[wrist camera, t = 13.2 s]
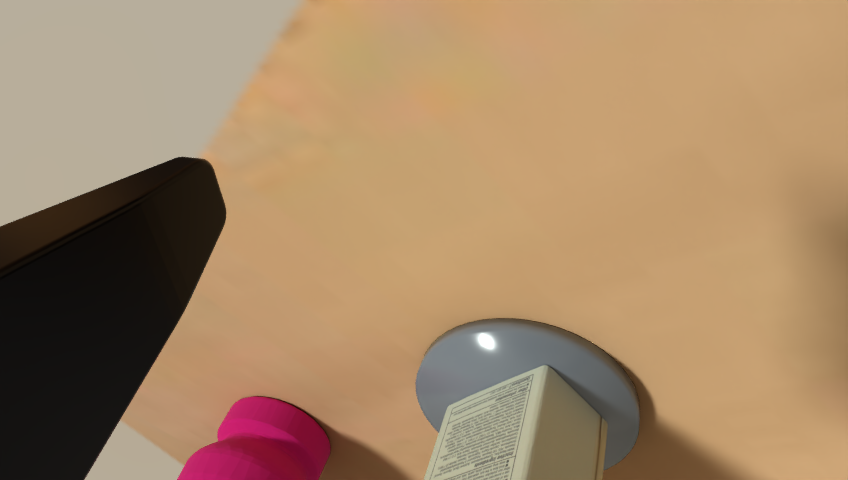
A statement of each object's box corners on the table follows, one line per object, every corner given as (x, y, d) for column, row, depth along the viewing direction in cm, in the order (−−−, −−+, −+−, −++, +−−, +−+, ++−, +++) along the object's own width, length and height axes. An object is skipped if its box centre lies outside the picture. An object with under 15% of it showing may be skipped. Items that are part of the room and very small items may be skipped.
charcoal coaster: (654, 339, 26) (654, 354, 26) (626, 482, 33) (625, 497, 32) (411, 302, 29) (406, 315, 28) (428, 441, 35) (423, 454, 35)
